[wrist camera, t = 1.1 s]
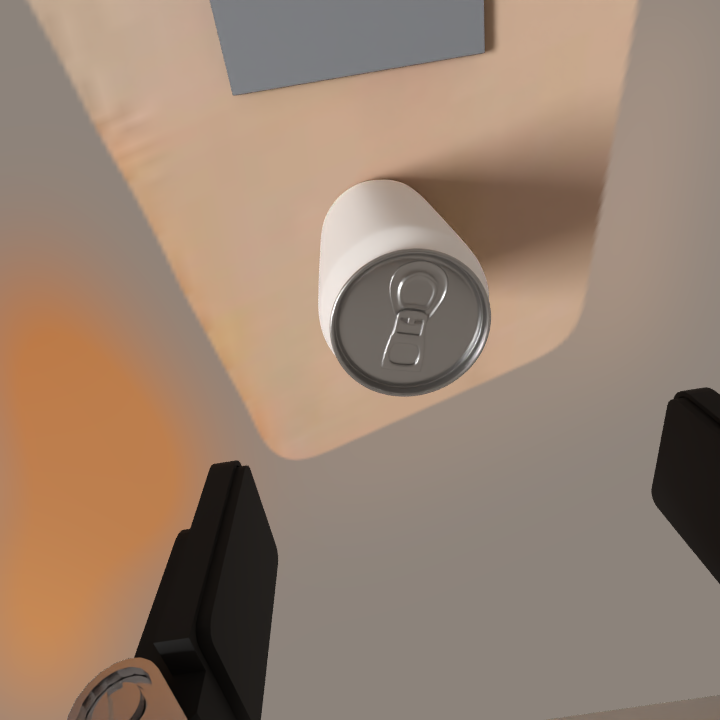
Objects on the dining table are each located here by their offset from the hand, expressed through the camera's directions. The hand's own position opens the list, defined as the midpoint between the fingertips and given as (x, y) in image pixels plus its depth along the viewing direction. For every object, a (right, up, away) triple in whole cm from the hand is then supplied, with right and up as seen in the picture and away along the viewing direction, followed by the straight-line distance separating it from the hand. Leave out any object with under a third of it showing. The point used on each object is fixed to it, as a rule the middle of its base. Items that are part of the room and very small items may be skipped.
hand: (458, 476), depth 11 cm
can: (-1, +10, +16) cm, 19 cm away
